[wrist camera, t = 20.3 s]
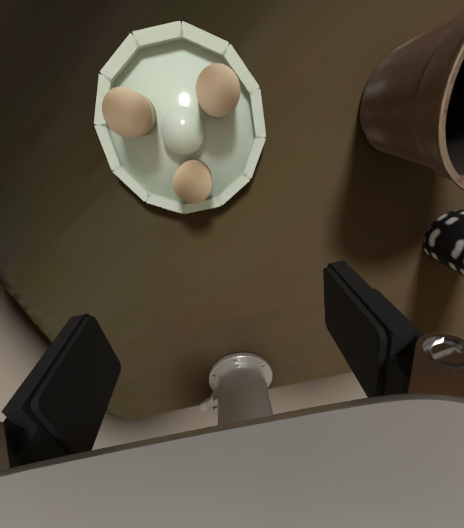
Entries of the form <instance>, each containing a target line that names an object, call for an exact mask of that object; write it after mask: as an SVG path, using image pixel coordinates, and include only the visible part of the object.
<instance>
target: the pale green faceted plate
mask: <svg viewBox="0 0 464 528" xmlns="http://www.w3.org/2000/svg"><path fill="white" fill-rule="evenodd" d="M133 35H134V36H133ZM133 35H132V34H131V33H130V34H129V35H128V37H127V38H126V39H125V40H124V42H123V43H122V44H121V46H120V47H119V48H118V49H117V51H116V52H115V53H114V54H113V56H112V57H111V58H110V59H109V61H108V62H107V63H106V64H105V66H104V67H103V68H102V69H101V71H100V72H101V73H102V74H103V75H101V74H99V79H98V89H97V99H96V109H95V118H94V124H97V125H96V126H95V129H96V131H97V134H98V137H99V139H100V142H101V144H102V147H103V149H104V152H105V155H106V157H107V160H108V162H109V165H110V167H111V170H114V171H113V173H114V174H115V175H116V176H117V177H119V178H120V179H121V180H122V181H123V182H124V183H125V184H126V185H127V186H128V187H129V188H130V189H131V190H132V191H133V192H134V193H135V194H137V195H138V196H139V197H140V198H141V199H142V200H143V201H144V202H145V201H146V203H148V204H152V205H155V206H158V207H162V208H165V209H168V210H172V211H175V212H178V213H182V214H183V212H184V213H185V214H187V213H192V212H197V211H201V210H206V209H211V208H215V207H220V204H221V205H223V204H224V203H226V202H227V201H228V200H229V199H230V198H231V197H232V196H233V195H234V194H236V193H237V192H238V191H239V190H240V189H241V188H242V187H243V186H245V185H246V184H247V183H248V182H249V181H250V179H249V178H251V179H252V176H253V173H254V170H255V167H256V165H257V162H258V159H259V156H260V153H261V151H262V148H263V145H264V142H265V140H266V139H265V138H263V137H266V132H265V124H264V115H263V107H262V99H261V91H260V89H258V88H259V85H258V84H257V82H256V81H255V79H254V78H253V76H252V75H251V73H250V72H249V70H248V69H247V67H246V66H245V64H244V63H243V61H242V60H241V59H240V57H239V56H238V54H237V53H236V51H235V50H234V48H233V47H232V45H231V44H230V45H229V46H228V43H229V42H227V41H225V40H223V39H221V38H218V37H216V36H214V35H212V34H210V33H208V32H205V31H203V30H201V29H199V28H197V27H195V26H192V25H190V24H188V23H186V22H184V21H182V26H181V22H180V21H176V22H172V23H168V24H163V25H159V26H155V27H150V28H146V29H142V30H137V31H133ZM215 63H220V64H224V65H226V66H228V67H229V68H231V69H232V70H233V71H234V72H235V74H236V76H237V77H238V80H239V83H240V98H239V101H238V104H237V106H236V107H235V109H234V110H233V111H232V112H231V113H229V114H228V115H227V116H225V117H222V118H213V117H210V116H208V115H207V114H206V113H205V112H204V111H203V110H202V109H201V107H200V105H199V102H198V100H197V96H196V82H197V79H198V76H199V74H200V73H201V71H202V70H203V69H204V68H205V67H207V66H209V65H211V64H215ZM115 87H127V88H130V89H132V90H134V91H136V92H138V93H140V94H142V95H144V96H145V97H147V98H148V99H149V100H150V101H151V103H152V104H153V106H154V108H155V110H156V114H157V122H156V126H155V128H154V129H153V131H152V132H151V133H149V134H148V135H146V136H140V137H131V138H127V137H122V136H120V135H118V134H116V133H115V132H113V131H112V130H111V129H110V128H109V126H108V125H107V123H106V122H105V120H104V117H103V113H102V102H103V98H104V96H105V95H106V93H107V92H108V91H109V90H111V89H113V88H115ZM257 89H258V90H257ZM190 159H197V160H200V161H202V162H204V163H205V164H206V165H207V166H208V167H209V169H210V171H211V177H212V188H211V192H210V194H209V195H208V197H207V198H206V199H205V200H203V201H202V202H199V203H194V204H192V203H187V202H185V201H183V200H181V199H180V198H179V197H178V196H177V195H176V193H175V191H174V189H173V184H172V183H173V176H174V174H175V172H176V171H177V169H178V168H179V167H180V166H181V164H182V163H184V162H185V161H187V160H190Z"/></svg>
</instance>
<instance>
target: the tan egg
mask: <svg viewBox="0 0 464 528" xmlns="http://www.w3.org/2000/svg"><path fill="white" fill-rule="evenodd" d="M102 113H103V117H104V120H105V122H106V123H107V125H108V126H109V128H110V129H111V130H112V131H113V132H115V133H116V134H118V135H120V136H122V137H127V138H131V137H140V136H146V135H148V134H149V133H151V132H152V131H153V129H154V128H155V126H156V122H157V114H156V110H155V108H154V106H153V104H152V103H151V101H150V100H149V99H148V98H147V97H145V96H144V95H142V94H140V93H138V92H136V91H134V90H132V89H130V88H127V87H115V88H113V89H111V90H109V91H108V92H107V93H106V95H105V96H104V98H103V102H102Z"/></svg>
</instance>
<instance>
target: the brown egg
mask: <svg viewBox="0 0 464 528" xmlns="http://www.w3.org/2000/svg"><path fill="white" fill-rule="evenodd" d="M172 184H173V189H174V191H175V193H176V195H177V196H178V197H179V198H180V199H181V200H183V201H185V202H187V203H192V204H194V203H199V202H202V201H203V200H205V199H206V198H207V197H208V195H209V194H210V192H211V188H212V177H211V171H210V169H209V167H208V166H207V165H206V164H205V163H204V162H202V161H200V160H197V159H190V160H187V161H185V162H184V163H182V164H181V166H180V167H179V168H178V169H177V171H176V172H175V174H174V176H173V183H172Z"/></svg>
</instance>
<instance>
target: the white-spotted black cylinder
mask: <svg viewBox="0 0 464 528" xmlns="http://www.w3.org/2000/svg"><path fill="white" fill-rule="evenodd" d="M423 245H424V250H425V252H426V253H427V254H428V255H429V256H430V257H432V258H434V259H435V260H437V261H439V262H441V263H442V264H444V265H446V266H447V267H449V268H451V269H453V270H454V271H456V272H458V273H460V274H461V275H463V276H464V210H454V211H451V212H448V213H446V214H444V215H442V216H441V217H439V218H438V219H437V220H436V221H435V222H434V223H433V224H432V225H431V226H430V227H429V229H428V231H427V232H426V234H425V237H424V243H423Z"/></svg>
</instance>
